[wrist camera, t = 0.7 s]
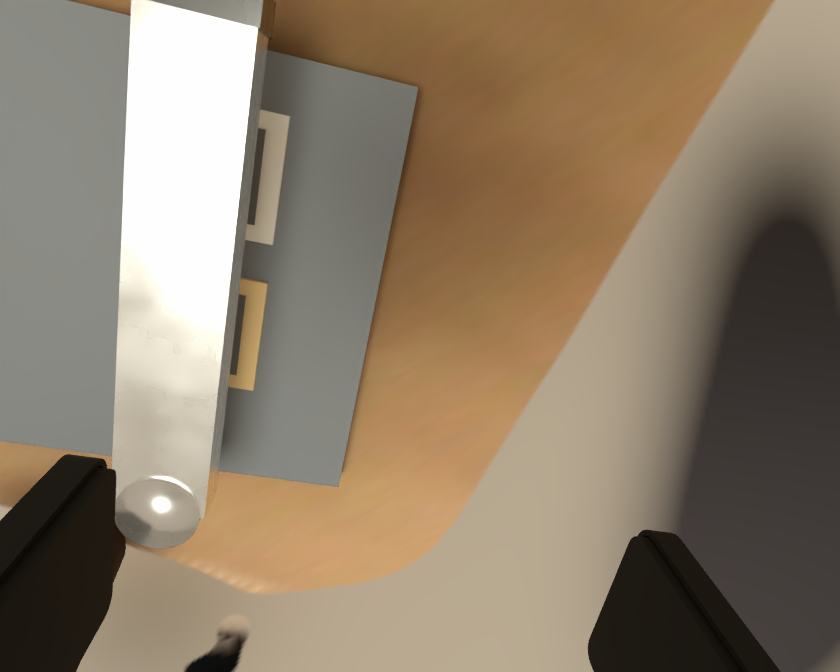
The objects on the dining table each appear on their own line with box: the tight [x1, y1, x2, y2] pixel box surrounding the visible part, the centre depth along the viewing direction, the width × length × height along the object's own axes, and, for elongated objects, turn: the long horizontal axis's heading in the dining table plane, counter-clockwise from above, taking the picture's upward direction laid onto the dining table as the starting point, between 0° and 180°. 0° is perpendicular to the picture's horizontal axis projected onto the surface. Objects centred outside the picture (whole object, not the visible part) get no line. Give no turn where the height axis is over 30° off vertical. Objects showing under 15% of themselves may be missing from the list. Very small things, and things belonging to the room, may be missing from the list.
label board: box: [0, 0, 418, 487], centre depth 26 cm, size 22×20×6 cm
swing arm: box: [112, 0, 276, 549], centre depth 22 cm, size 23×4×2 cm, turn 167°
